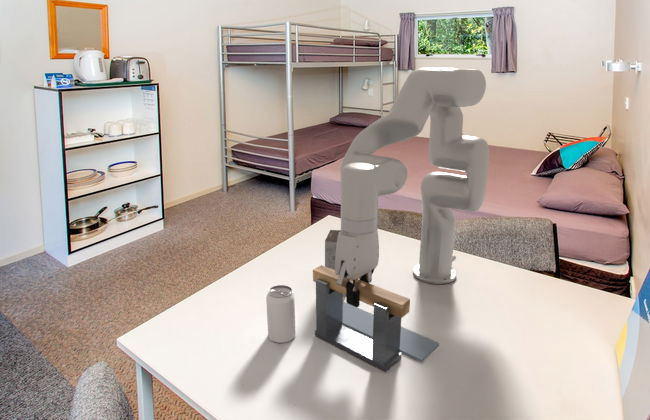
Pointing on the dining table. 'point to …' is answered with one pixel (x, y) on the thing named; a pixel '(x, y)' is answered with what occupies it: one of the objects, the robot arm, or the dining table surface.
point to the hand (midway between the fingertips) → (358, 300)
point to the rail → (366, 292)
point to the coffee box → (331, 249)
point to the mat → (409, 340)
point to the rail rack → (330, 329)
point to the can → (281, 314)
